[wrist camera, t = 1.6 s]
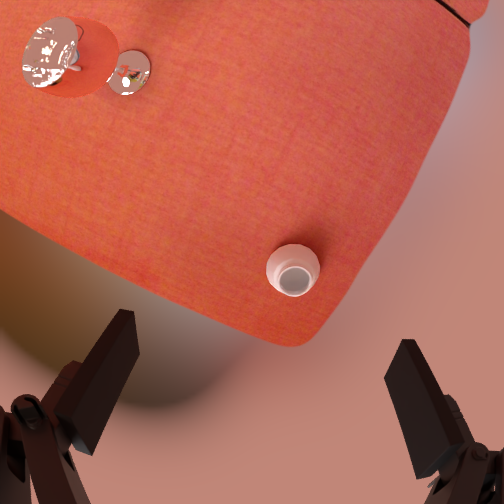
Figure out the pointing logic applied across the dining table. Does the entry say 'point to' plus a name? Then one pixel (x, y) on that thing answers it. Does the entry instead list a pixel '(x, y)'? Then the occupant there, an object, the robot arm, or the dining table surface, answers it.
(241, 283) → the dining table surface
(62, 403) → the robot arm
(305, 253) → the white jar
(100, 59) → the wineglass
